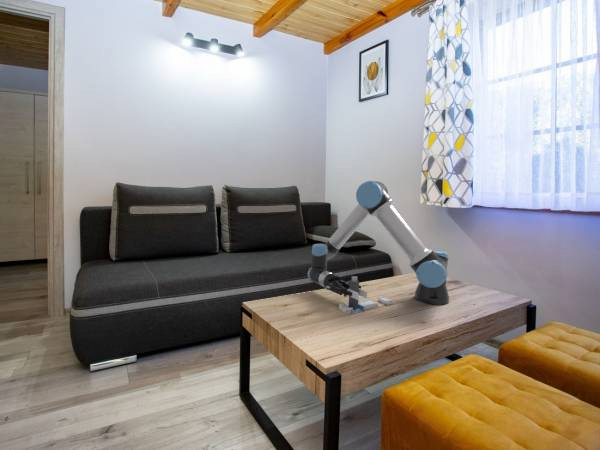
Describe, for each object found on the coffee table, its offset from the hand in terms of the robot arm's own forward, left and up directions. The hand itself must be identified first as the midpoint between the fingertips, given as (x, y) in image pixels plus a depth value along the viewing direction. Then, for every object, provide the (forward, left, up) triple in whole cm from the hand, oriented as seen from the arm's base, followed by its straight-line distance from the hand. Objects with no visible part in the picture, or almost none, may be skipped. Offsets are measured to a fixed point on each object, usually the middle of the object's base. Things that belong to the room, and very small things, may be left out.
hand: (362, 295), depth 143 cm
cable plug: (0, -5, -6) cm, 8 cm away
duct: (-7, -5, -7) cm, 12 cm away
